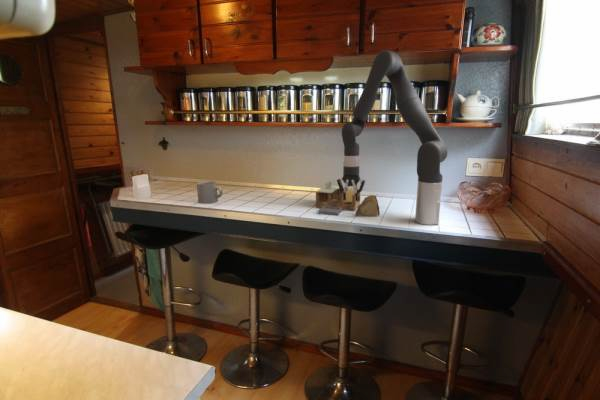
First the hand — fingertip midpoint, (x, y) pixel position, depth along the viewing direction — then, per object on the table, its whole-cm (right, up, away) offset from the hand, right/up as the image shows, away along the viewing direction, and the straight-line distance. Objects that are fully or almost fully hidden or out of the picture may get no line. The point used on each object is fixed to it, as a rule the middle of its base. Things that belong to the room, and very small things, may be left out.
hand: (350, 200), depth 166 cm
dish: (-10, -6, -7) cm, 14 cm away
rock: (+6, -7, -13) cm, 15 cm away
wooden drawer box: (-6, -3, +3) cm, 7 cm away
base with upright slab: (-114, +2, +28) cm, 117 cm away
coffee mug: (-72, -1, +14) cm, 73 cm away
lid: (-11, +5, +3) cm, 12 cm away
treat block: (0, 0, 0) cm, 0 cm away
